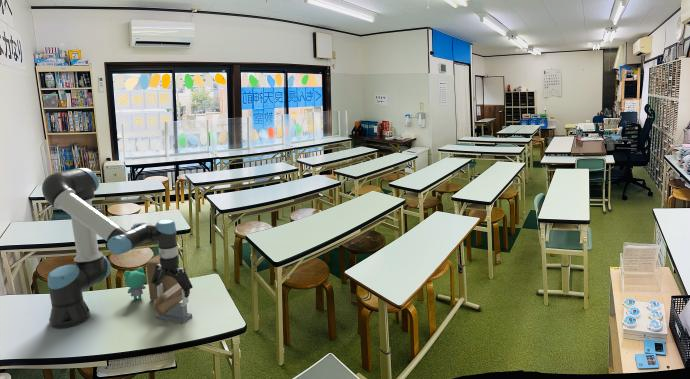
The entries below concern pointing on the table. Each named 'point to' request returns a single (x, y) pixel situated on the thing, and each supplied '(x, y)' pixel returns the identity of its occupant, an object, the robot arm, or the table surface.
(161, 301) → the beam
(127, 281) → the toy
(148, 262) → the wooden block
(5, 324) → the table surface
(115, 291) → the table surface
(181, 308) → the ridge stand
